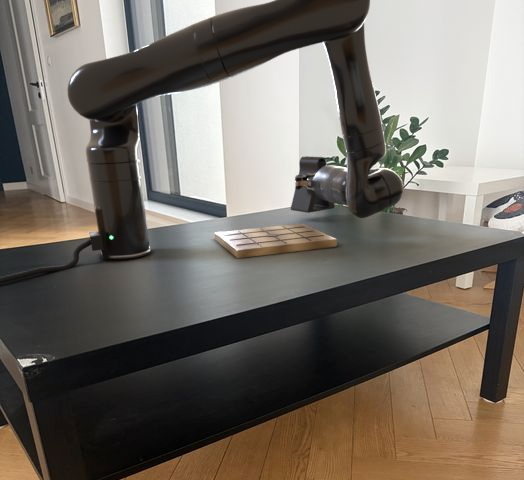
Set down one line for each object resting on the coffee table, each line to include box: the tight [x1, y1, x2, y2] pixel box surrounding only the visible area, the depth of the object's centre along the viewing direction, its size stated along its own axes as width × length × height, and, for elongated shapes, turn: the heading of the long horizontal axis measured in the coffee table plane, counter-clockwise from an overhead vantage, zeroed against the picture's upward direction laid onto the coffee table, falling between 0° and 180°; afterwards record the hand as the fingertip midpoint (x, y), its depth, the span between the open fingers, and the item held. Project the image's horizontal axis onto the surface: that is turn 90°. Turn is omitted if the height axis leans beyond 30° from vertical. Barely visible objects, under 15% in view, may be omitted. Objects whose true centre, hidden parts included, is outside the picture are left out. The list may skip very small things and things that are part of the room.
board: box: [214, 223, 338, 259], centre depth 111 cm, size 20×18×2 cm
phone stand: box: [290, 156, 335, 214], centre depth 130 cm, size 9×6×12 cm, turn 129°
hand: (306, 177), depth 133 cm, fingers closed on phone stand, 3 cm apart
